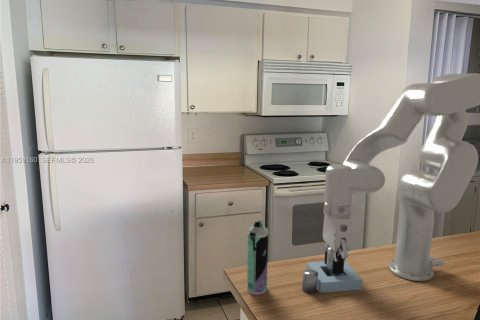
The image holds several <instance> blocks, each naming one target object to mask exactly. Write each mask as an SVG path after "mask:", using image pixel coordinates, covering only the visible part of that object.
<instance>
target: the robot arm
mask: <svg viewBox="0 0 480 320" xmlns="http://www.w3.org/2000/svg"><path fill="white" fill-rule="evenodd" d="M478 106H480V73H475V72H473V73H450V74H442V75H440V76H437V77H435V78H434V79H433V80H432V81H431V83H430V82H429V83H428V82H427V83H423V82H422V83H419V82H418V83H413V84H409V85H408V86H406V87H405V88H404V89H403V90H402V92H401V93H400V94H399V96H398V97H397V99H396V100H395V102H394V103H393V104H392V106H391V108H390V109H389V111H388V112H387V114H386V115H385V117H384V118H383V120H382V121H381V122H380V124H379V125H378V127H376V128H375V129H373V131H371V132H370V133H368V134H367V135H366V136H364V137H363V138H362V139H361V140H360V141H358V142H357V143H356V144H355V146H354V147H352V149H351V150H350V152H349V154H348V155H347V157H346V158H345V159H344V161H343V164H342V163H341V164H338V163H337V164H331V165H328V166H327V167H326V169H325V178H324V179H325V180H324V197H323V198H324V199H323V200H324V201H323V214H324V217H323V224H322V225H323V226H322V239H323V241H324V244H325V245H324V261H325V262H324V263H325V264H326V265H327V247H328V246H330V248H331V249H332V250H334V260H333V264H332V273H333V274H342V273H343V272H344V261H345V262H346V259H347V258H348V257H349V253H348V252H350V251H352V235H353V234H352V219H351V216H352V206H353V204H352V203H353V193H354V192H355V193H366V194H372V193H376V192H379V191H380V190H382V188H383V187H384V185H385V183H386V177H385V175H384V172H383V171H382V170H381V169H379V168H378V167H377V166H374V165H372V164H370V163H371V162H372V161H373V160H374V159H375V158H376V157H377V156H378V155H379V154H381V153H382V152H384V151H388V150H390V149H393V148H396V147H399V146H402V145H404V144H405V143H408V141H409V139H410V137H411V136H412V134H413V133H414V131H415V130H416V128H417V127H418V126H419V124H420V122H421V121H422V120H423V119H424V117H425V116H428V117H435V118H434V120H433V124H432V126H431V128H430V130H429V132H428V133H427V136H426V138H425V140H424V142H423V144H422V145H421V148H420V150H419V154H418V160H419V162H420V163H421V165H423V166H424V167H426V168H429V169H432V170H434V171H435V170H436V171H438V173H437V174H435V173H432V172H429V171H426V170H422V169H411V170H408V171H406V172H404V173H403V174H402V175H401V176H400V179H399V181H398V187H397V188H398V191H397V192H398V198H399V200H398V201H399V214H398V224H397V232H396V233H397V234H396V243H395V245H396V246H395V251H394V252H395V253H394V259H392V260H390V261H389V262H388V269H389V271H390V272H391V273H393V274H395V276H397V277H399V278H403V279H406V280H408V281H409V280H410V281H413V282H414V281H415V282H425V281H430V280H432V279H433V278H434V274H435V273H434V269H433V268H435V267H442V266H444V263H445V262H444V260H443V259H441V258H440V259H434V257H433V256H431V250H432V242H433V234H434V226H435V225H434V224H435V213H434V212H437V213H449V212H451V211H452V210H453V209H454V208H455V207H457V205H458V203H460V200H461V199H462V197H463V195H464V193H465V191H466V189H467V187H468V186H469V184H470V181H471V180H472V178H473V176H474V174H475V172H476V169H477V168H478V163H479V154H478V150H477V148H476V147H475V146H474V145H473V144H471V143H470V142H467V141H465V140H462V139H463V137H464V135H465V133H466V131H467V129H468V123H469V120H468V119H469V118H468V114H467V112H466V110H468V109H471V108H475V107H478ZM338 248H341V249H340V250H338ZM337 252H341V254H340V255H338V256H337Z"/></svg>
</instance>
